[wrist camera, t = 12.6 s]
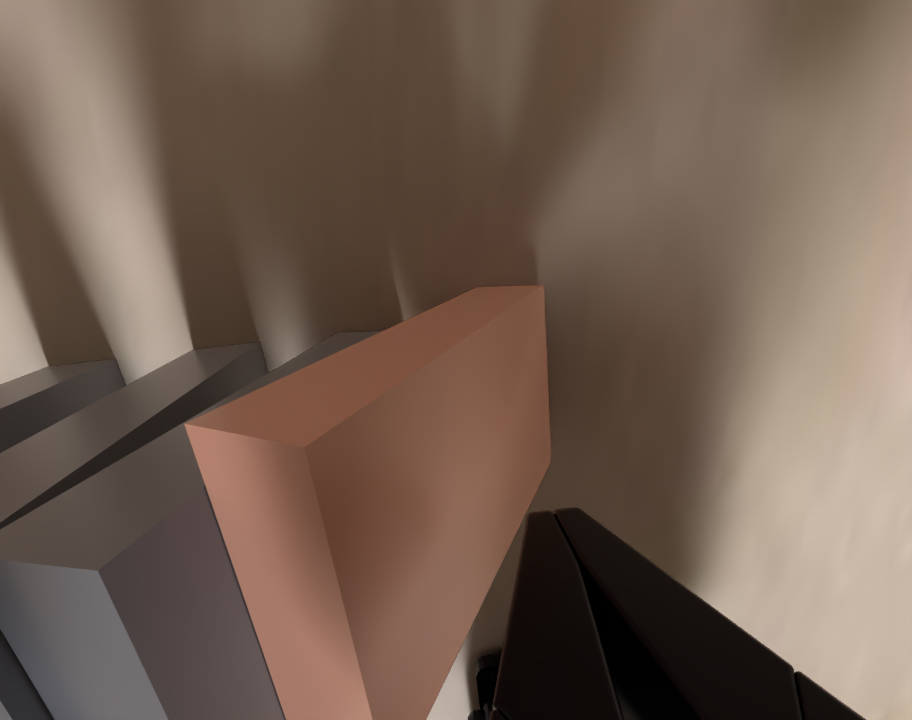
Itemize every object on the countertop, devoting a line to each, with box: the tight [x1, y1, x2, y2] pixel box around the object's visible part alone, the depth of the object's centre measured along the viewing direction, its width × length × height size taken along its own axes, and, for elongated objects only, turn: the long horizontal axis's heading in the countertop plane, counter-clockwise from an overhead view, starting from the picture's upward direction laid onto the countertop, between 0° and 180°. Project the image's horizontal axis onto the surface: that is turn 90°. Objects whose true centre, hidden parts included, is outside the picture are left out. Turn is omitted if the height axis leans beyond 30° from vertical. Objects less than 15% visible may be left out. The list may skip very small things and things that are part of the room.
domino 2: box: [0, 330, 384, 720], centre depth 8 cm, size 2×5×8 cm, turn 6°
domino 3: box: [0, 342, 268, 720], centre depth 8 cm, size 2×5×8 cm, turn 6°
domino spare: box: [184, 285, 551, 720], centre depth 8 cm, size 2×5×8 cm, turn 6°
